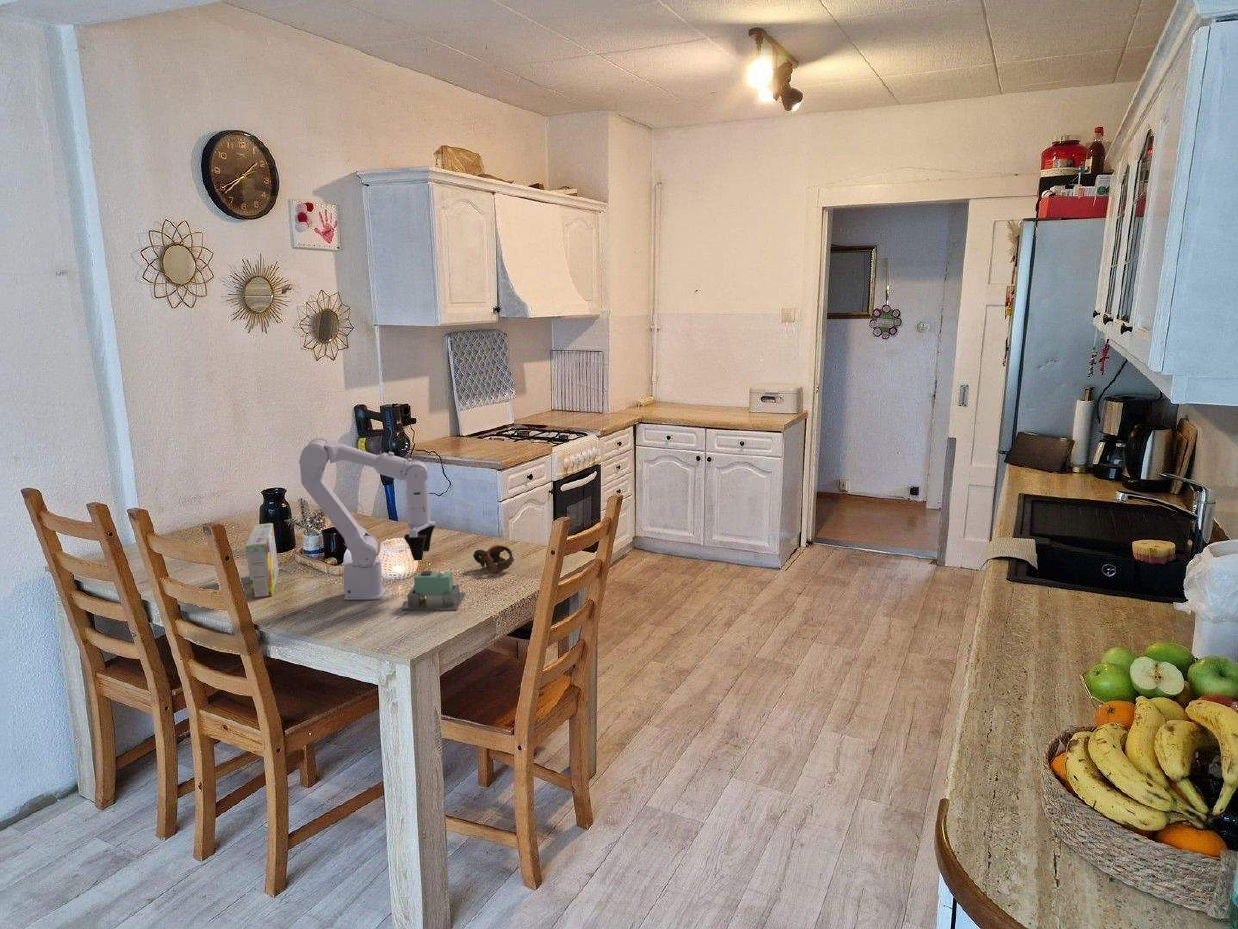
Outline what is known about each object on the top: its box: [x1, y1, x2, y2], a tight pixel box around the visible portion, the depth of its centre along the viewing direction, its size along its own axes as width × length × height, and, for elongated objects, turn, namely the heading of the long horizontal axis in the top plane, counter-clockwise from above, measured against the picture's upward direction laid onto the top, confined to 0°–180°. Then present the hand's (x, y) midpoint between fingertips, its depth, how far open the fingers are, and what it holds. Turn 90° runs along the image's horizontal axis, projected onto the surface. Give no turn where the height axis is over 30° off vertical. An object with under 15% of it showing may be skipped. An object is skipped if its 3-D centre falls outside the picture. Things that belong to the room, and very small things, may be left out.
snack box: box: [245, 522, 280, 599], centre depth 223 cm, size 21×6×15 cm, turn 18°
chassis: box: [401, 584, 466, 612], centre depth 209 cm, size 14×11×4 cm
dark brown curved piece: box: [472, 544, 515, 576], centre depth 234 cm, size 12×10×8 cm
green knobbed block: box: [413, 570, 454, 596], centre depth 208 cm, size 9×4×6 cm, turn 89°
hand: (421, 555), depth 216 cm, fingers open, 7 cm apart
